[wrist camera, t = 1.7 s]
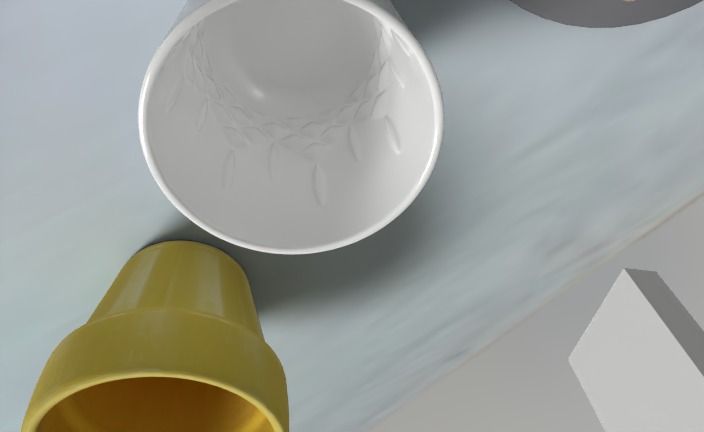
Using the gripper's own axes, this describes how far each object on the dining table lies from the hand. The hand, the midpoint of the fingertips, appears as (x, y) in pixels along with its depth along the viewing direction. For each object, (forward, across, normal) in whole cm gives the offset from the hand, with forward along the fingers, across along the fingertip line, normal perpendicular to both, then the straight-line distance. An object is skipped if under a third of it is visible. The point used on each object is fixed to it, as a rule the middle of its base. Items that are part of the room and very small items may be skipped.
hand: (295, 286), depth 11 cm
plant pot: (+16, -3, -14) cm, 22 cm away
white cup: (+16, 0, 0) cm, 16 cm away
